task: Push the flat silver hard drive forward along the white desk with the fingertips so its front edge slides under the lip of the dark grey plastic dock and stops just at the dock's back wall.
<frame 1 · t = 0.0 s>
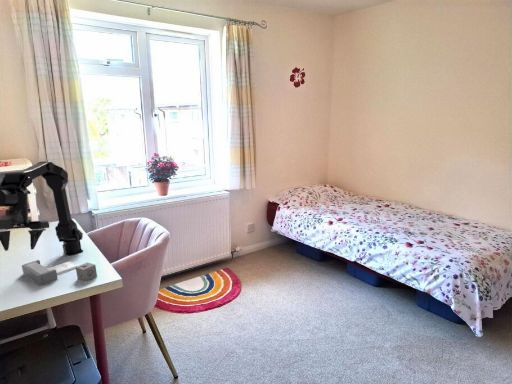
hand: (19, 249, 123), 15 cm above the table, tool pointing down, fingers open, 9 cm apart
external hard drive: (58, 272, 141), on the table
dice cube: (87, 278, 134), on the table
dock: (34, 278, 135), on the table
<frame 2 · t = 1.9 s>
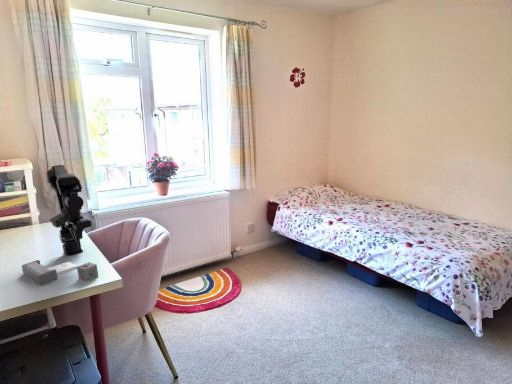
hand: (77, 240, 146), 10 cm above the table, tool pointing down, fingers closed
nothing on the table moved.
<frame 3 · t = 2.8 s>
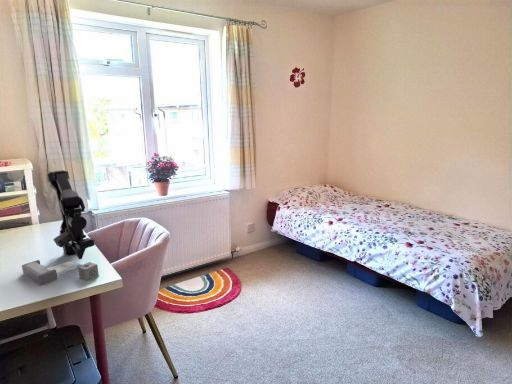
hand: (80, 259, 148), 2 cm above the table, tool pointing down, fingers closed
nothing on the table moved.
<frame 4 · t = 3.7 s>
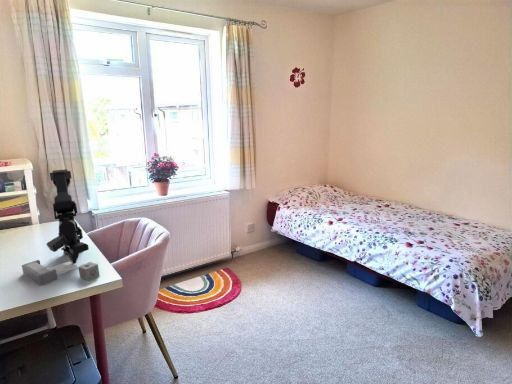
hand: (74, 263, 146), 1 cm above the table, tool pointing down, fingers closed
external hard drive: (57, 272, 141), on the table, touching gripper
everything else where it was.
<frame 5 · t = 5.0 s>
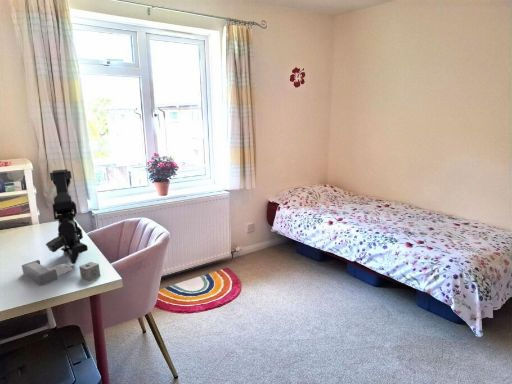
hand: (73, 263, 146), 1 cm above the table, tool pointing down, fingers closed
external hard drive: (52, 274, 140), on the table
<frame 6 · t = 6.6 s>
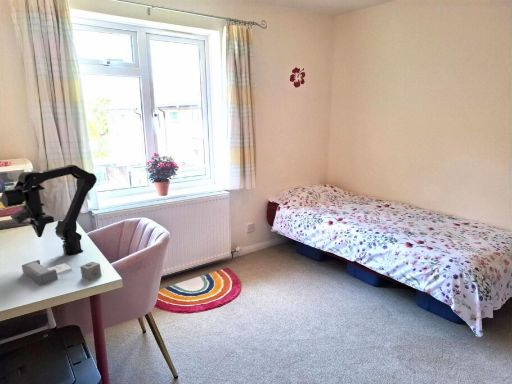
hand: (39, 236, 147), 12 cm above the table, tool pointing down, fingers closed
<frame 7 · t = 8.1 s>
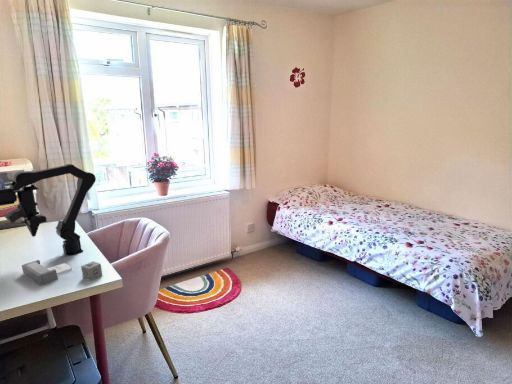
hand: (33, 236, 148), 12 cm above the table, tool pointing down, fingers closed
at the end: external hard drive 0.5 cm from the target spot on the dock, point -0.8 cm above the dock's base; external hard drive on the table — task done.
